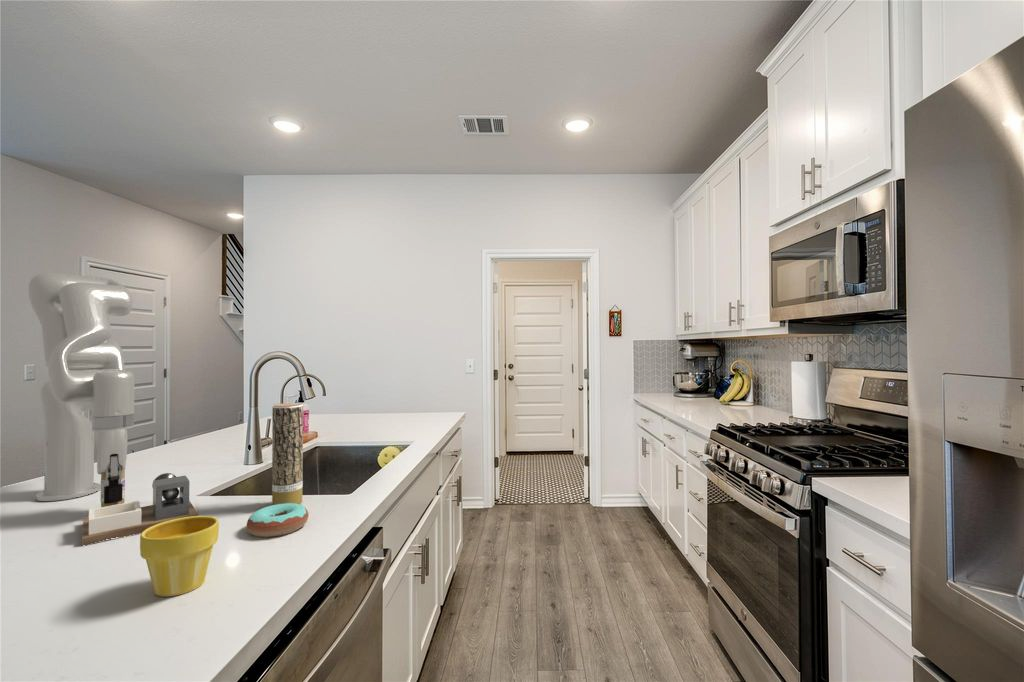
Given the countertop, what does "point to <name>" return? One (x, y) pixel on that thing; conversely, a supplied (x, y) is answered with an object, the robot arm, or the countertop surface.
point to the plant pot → (179, 553)
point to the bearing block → (173, 507)
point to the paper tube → (287, 453)
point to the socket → (114, 517)
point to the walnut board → (146, 523)
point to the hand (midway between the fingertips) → (112, 498)
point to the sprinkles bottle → (103, 483)
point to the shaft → (169, 493)
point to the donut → (277, 520)
